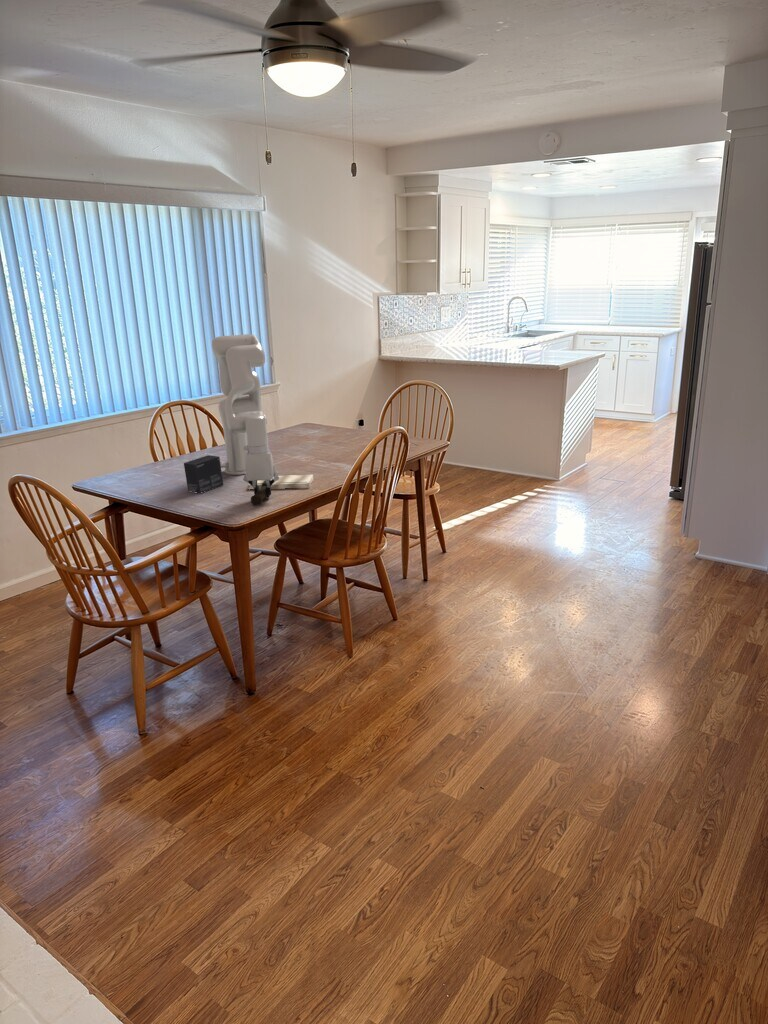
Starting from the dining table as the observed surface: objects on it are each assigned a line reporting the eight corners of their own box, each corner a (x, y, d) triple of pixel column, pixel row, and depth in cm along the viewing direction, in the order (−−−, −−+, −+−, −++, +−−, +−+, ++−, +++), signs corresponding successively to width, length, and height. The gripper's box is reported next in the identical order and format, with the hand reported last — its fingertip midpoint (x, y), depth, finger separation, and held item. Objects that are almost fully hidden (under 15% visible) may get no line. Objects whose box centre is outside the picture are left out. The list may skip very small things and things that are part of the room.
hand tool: (261, 505, 255) (260, 493, 254) (251, 505, 256) (249, 493, 254) (276, 490, 273) (275, 478, 271) (266, 490, 273) (265, 478, 272)
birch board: (248, 489, 276) (247, 484, 275) (254, 481, 288) (254, 476, 287) (309, 488, 275) (308, 482, 274) (313, 479, 286) (313, 474, 286)
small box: (212, 483, 288) (208, 454, 284) (224, 485, 284) (220, 456, 280) (187, 492, 278) (183, 462, 274) (199, 494, 274) (195, 464, 270)
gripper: (233, 452, 255) (239, 500, 261) (278, 451, 254) (283, 499, 260) (238, 447, 262) (243, 494, 268) (282, 445, 261) (286, 493, 267)
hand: (263, 496), depth 264 cm, fingers closed on hand tool, 3 cm apart
